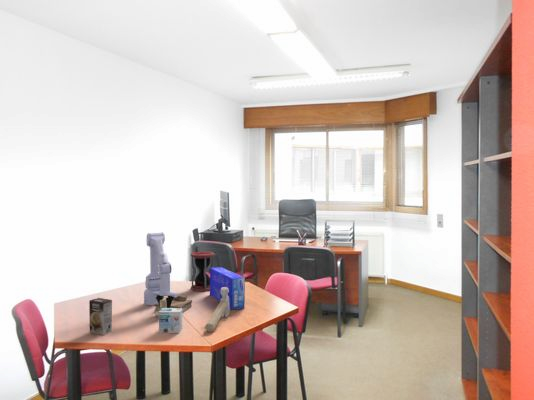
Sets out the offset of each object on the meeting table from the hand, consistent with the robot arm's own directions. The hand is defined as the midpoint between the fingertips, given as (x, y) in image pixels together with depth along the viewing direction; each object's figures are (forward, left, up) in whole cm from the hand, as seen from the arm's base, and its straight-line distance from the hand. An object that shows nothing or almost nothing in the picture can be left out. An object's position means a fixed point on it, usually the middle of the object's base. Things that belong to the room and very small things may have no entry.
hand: (164, 308), depth 248 cm
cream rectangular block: (0, 0, -3) cm, 3 cm away
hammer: (+35, -6, -3) cm, 36 cm away
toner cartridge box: (+23, +35, -3) cm, 42 cm away
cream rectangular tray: (0, +7, -3) cm, 7 cm away
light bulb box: (+17, -24, -3) cm, 30 cm away
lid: (0, +10, 0) cm, 10 cm away
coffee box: (-15, -36, -3) cm, 39 cm away
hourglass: (-5, +60, -3) cm, 60 cm away
